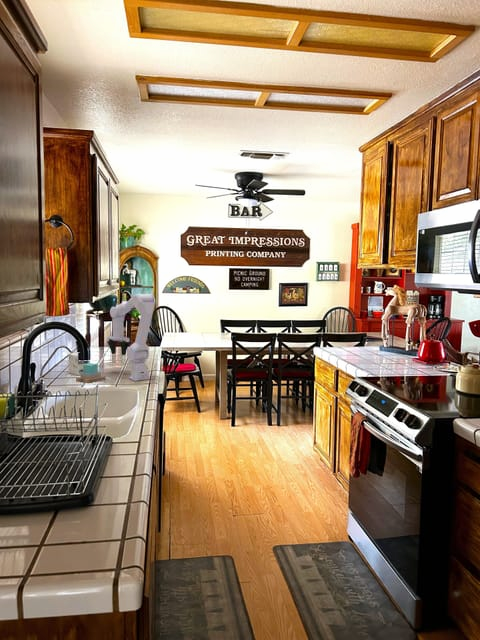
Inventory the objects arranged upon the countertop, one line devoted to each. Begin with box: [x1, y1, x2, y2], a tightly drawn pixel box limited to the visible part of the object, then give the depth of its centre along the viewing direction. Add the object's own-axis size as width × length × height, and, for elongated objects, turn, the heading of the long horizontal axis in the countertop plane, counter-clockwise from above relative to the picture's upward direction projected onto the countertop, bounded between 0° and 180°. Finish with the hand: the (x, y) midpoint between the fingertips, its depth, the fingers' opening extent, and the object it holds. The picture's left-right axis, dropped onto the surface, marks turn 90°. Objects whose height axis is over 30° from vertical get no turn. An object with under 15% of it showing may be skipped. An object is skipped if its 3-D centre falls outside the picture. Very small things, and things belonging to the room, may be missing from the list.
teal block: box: [83, 362, 99, 374], centre depth 240 cm, size 5×5×4 cm
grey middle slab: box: [79, 371, 102, 379], centre depth 241 cm, size 7×7×2 cm
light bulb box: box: [67, 352, 90, 376], centre depth 259 cm, size 11×7×11 cm, turn 47°
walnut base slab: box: [75, 375, 106, 384], centre depth 241 cm, size 10×10×2 cm
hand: (118, 354), depth 259 cm, fingers open, 7 cm apart
